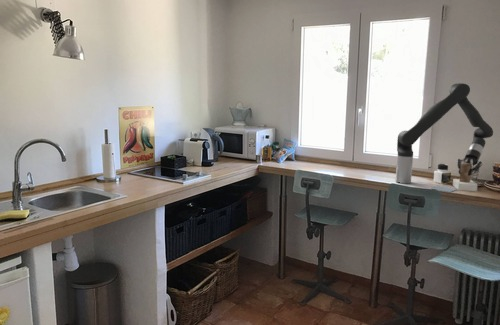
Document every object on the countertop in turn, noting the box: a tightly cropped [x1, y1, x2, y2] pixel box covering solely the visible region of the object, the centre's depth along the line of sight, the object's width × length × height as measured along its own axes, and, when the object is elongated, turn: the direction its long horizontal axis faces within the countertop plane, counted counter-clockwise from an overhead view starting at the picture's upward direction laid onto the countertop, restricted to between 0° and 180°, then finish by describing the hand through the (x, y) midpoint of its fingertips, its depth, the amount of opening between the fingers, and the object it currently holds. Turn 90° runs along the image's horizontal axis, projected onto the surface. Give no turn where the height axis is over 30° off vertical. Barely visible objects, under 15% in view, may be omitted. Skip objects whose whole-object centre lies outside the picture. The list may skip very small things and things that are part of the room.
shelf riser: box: [452, 178, 478, 192], centre depth 242 cm, size 10×14×4 cm
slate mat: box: [430, 185, 459, 193], centre depth 239 cm, size 12×12×1 cm
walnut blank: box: [459, 162, 472, 183], centre depth 240 cm, size 4×4×11 cm
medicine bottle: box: [433, 163, 452, 185], centre depth 257 cm, size 7×7×12 cm
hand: (464, 174), depth 239 cm, fingers closed on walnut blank, 4 cm apart
